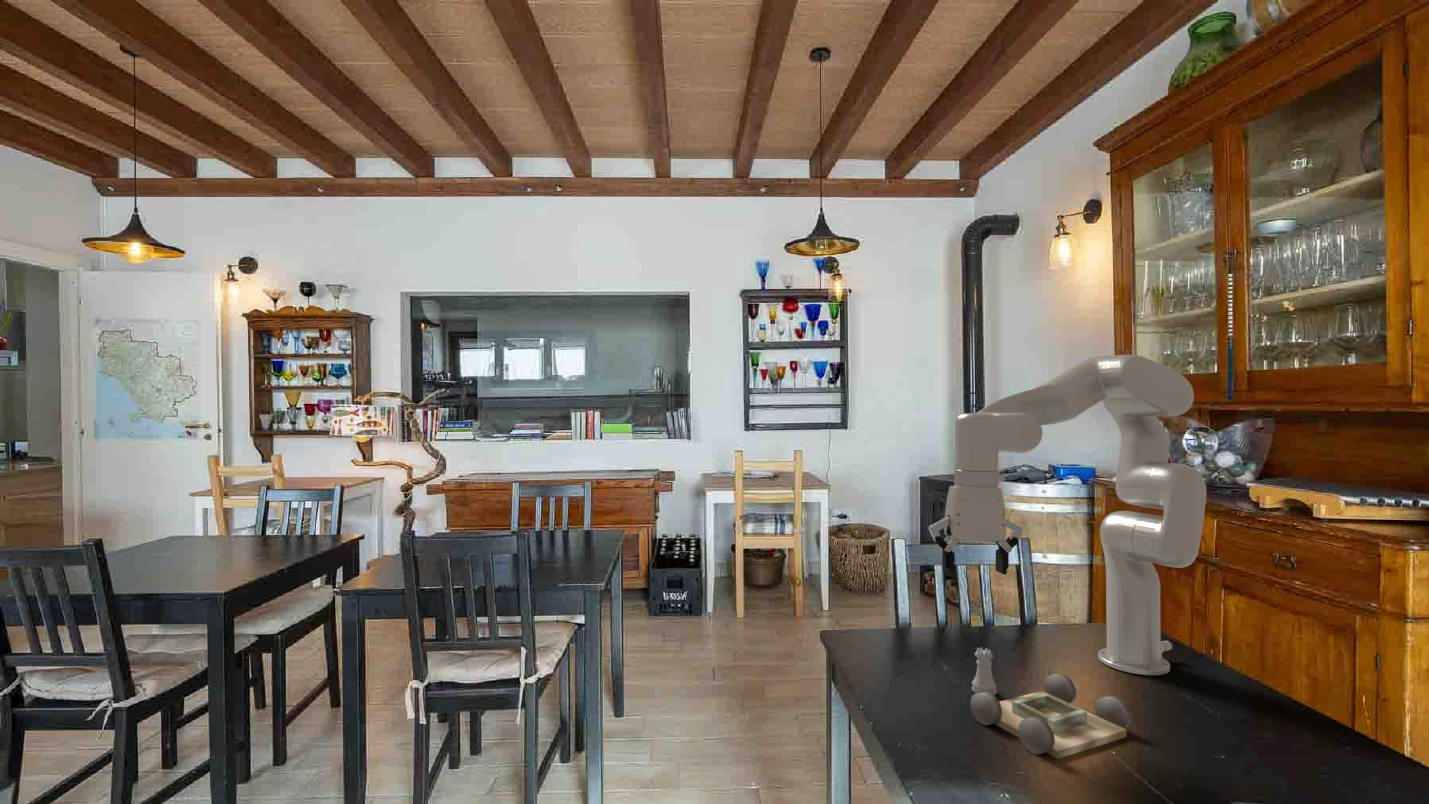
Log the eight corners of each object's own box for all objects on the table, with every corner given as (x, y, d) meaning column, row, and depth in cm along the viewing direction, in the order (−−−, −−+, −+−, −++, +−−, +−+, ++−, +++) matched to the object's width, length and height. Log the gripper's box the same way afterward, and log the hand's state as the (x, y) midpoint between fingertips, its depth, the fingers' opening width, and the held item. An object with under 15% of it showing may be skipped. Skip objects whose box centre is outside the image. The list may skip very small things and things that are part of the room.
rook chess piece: (999, 698, 121) (999, 655, 121) (973, 696, 122) (973, 653, 122) (994, 688, 125) (993, 646, 125) (969, 686, 126) (969, 644, 126)
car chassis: (1049, 695, 122) (1049, 668, 122) (1134, 734, 108) (1134, 703, 108) (968, 716, 114) (968, 687, 114) (1048, 762, 99) (1048, 729, 99)
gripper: (1012, 478, 125) (1011, 567, 125) (922, 477, 125) (921, 567, 125) (1032, 482, 118) (1031, 578, 118) (937, 481, 117) (936, 577, 117)
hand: (975, 572), depth 121 cm, fingers open, 9 cm apart
